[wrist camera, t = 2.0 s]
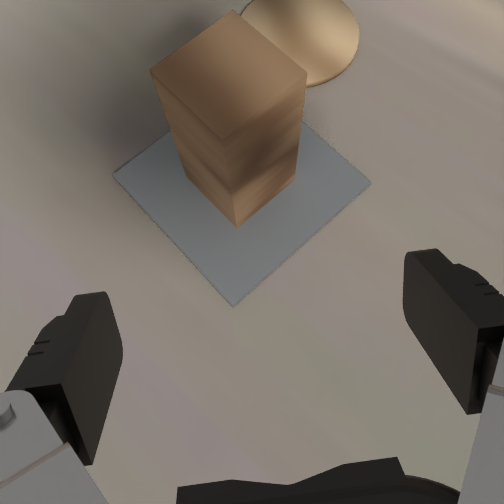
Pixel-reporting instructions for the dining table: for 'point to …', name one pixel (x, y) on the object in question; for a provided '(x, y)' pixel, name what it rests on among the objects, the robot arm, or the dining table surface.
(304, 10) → the coaster
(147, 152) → the blue-gray tile
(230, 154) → the walnut block
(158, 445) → the dining table surface
